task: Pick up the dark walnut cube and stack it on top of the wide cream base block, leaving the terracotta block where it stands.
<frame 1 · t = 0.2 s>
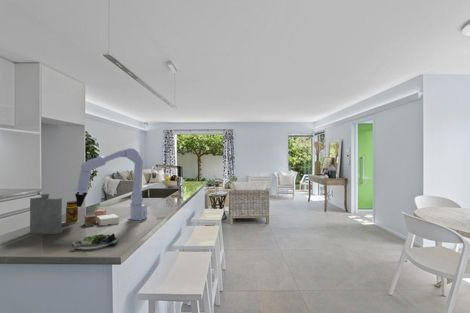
hand: (79, 205, 163), 10 cm above the countertop, tool pointing down, fingers open, 7 cm apart
condiment: (70, 222, 167), on the countertop
hip flask: (45, 233, 145), on the countertop
base block: (107, 223, 166), on the countertop
terracotta block: (100, 218, 178), on the countertop
walnut cube: (90, 224, 162), on the countertop
salad plate: (97, 244, 129), on the countertop
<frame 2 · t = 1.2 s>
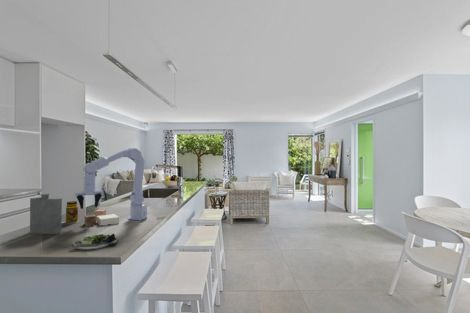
hand: (89, 207, 162), 9 cm above the countertop, tool pointing down, fingers open, 7 cm apart
nothing on the countertop moved.
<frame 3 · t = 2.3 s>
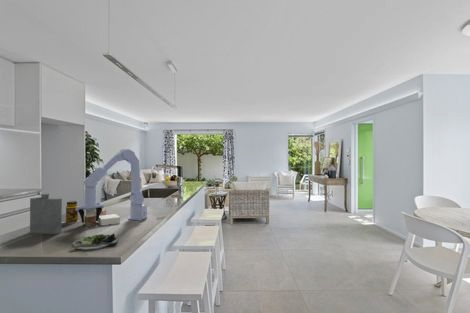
hand: (90, 221, 162), 1 cm above the countertop, tool pointing down, fingers open, 7 cm apart
base block: (108, 223, 166), on the countertop, touching gripper
everything else where it was.
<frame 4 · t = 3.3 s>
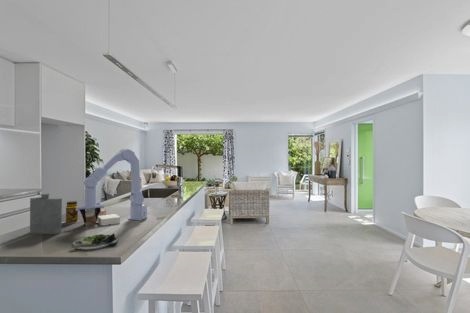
hand: (90, 221, 162), 1 cm above the countertop, tool pointing down, fingers closed on walnut cube, 5 cm apart
base block: (108, 223, 166), on the countertop
walnut cube: (90, 224, 162), on the countertop, touching gripper
everything else where it was.
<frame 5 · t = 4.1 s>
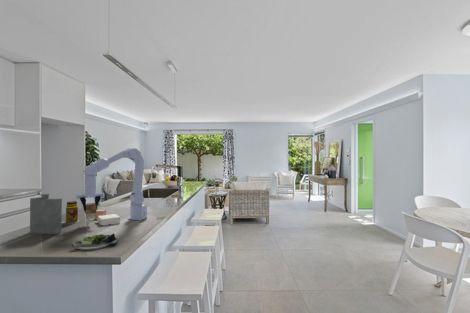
hand: (90, 210, 162), 8 cm above the countertop, tool pointing down, fingers closed on walnut cube, 5 cm apart
walnut cube: (90, 212, 162), point 7 cm above the countertop, touching gripper
everything else where it was.
when the fingers open (7 cm above the countertop, at t = 5.6 s): walnut cube drops 2 cm, point 4 cm above the countertop.
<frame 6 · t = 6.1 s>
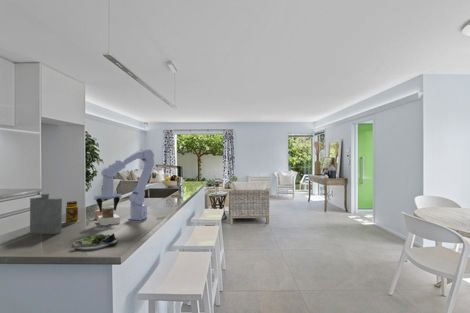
hand: (107, 210, 166), 7 cm above the countertop, tool pointing down, fingers open, 7 cm apart
walnut cube: (107, 216, 166), point 4 cm above the countertop
everything else where it was.
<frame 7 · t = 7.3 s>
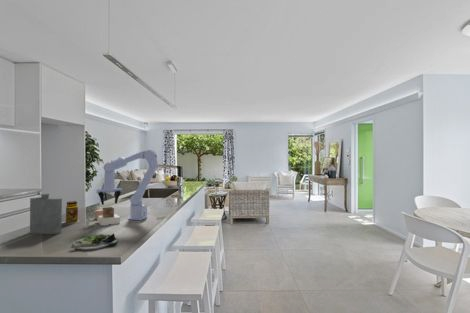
hand: (109, 203, 175), 9 cm above the countertop, tool pointing down, fingers open, 7 cm apart
nothing on the countertop moved.
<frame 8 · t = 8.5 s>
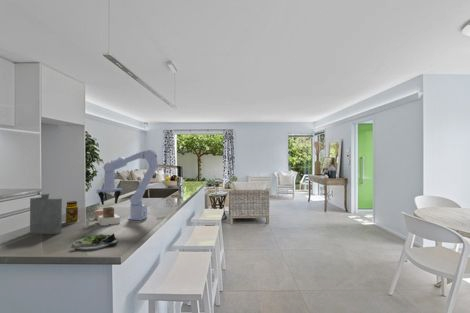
hand: (109, 203, 175), 9 cm above the countertop, tool pointing down, fingers open, 7 cm apart
base block: (108, 223, 166), on the countertop, touching walnut cube
walnut cube: (108, 216, 166), point 4 cm above the countertop, touching base block
everything else where it was.
at the end: walnut cube 0.2 cm off-centre on the base block, point 4.0 cm above the base block's base; walnut cube tilted 0°; the gripper is holding nothing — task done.
